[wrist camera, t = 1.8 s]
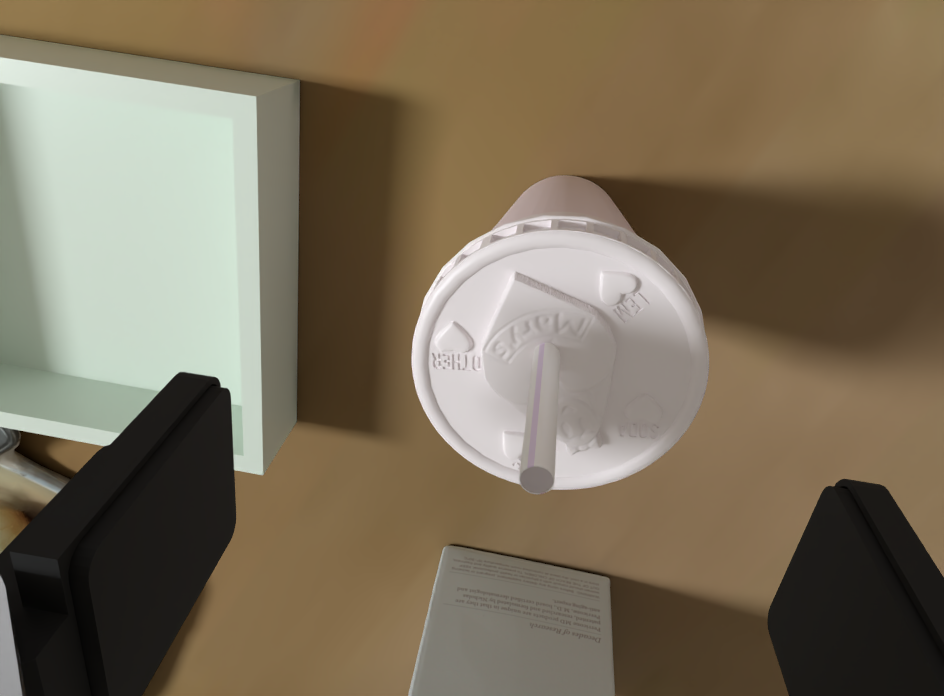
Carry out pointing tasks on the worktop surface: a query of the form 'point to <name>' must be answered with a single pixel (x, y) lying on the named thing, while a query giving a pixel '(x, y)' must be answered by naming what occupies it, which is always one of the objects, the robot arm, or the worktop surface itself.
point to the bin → (145, 241)
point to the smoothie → (560, 344)
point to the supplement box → (514, 630)
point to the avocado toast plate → (22, 487)
